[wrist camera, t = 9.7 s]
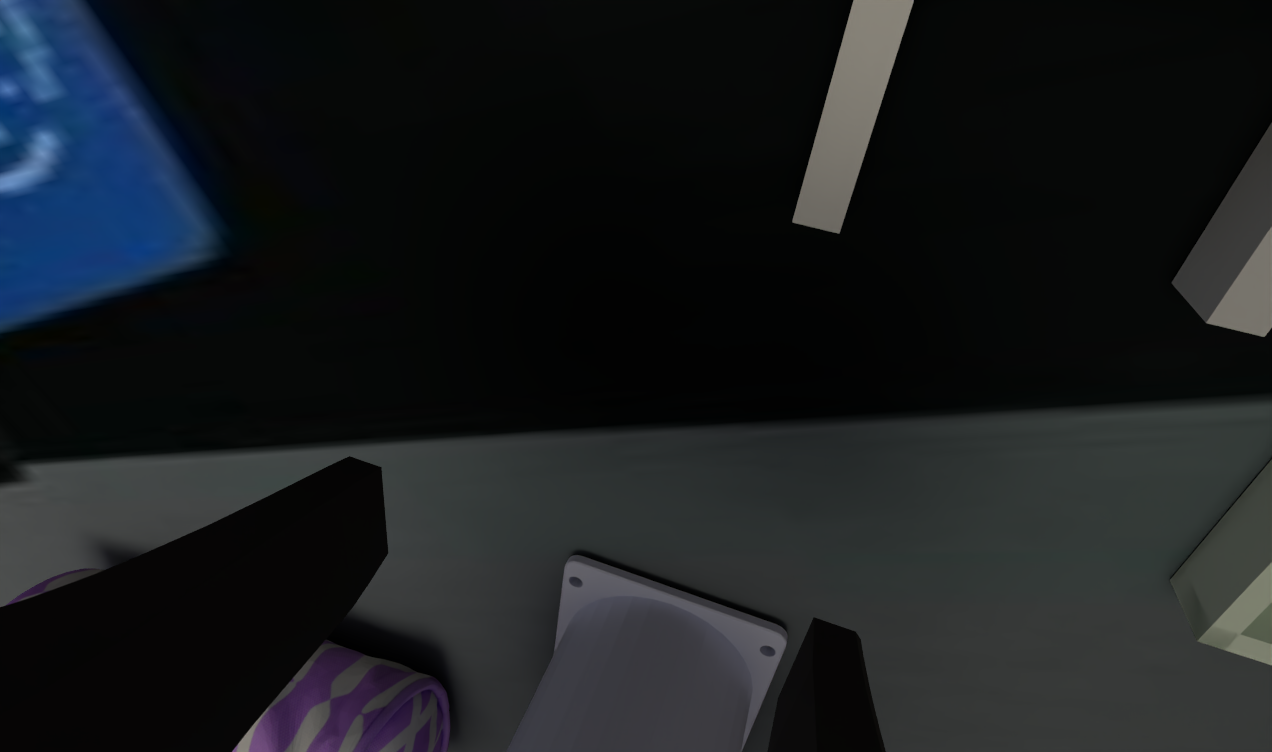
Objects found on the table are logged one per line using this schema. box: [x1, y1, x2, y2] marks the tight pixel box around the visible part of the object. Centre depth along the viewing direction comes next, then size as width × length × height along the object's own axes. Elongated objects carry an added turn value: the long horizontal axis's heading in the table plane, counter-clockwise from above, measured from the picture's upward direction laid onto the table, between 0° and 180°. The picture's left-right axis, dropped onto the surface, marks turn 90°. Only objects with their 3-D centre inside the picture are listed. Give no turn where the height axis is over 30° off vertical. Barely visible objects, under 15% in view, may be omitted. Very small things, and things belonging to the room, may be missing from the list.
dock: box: [792, 0, 1272, 337], centre depth 11 cm, size 9×12×6 cm
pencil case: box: [7, 569, 450, 752], centre depth 31 cm, size 22×9×10 cm, turn 93°
